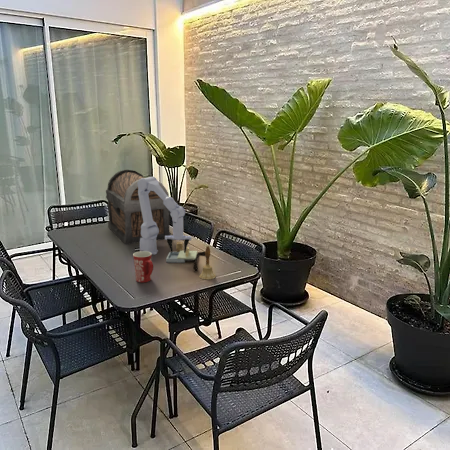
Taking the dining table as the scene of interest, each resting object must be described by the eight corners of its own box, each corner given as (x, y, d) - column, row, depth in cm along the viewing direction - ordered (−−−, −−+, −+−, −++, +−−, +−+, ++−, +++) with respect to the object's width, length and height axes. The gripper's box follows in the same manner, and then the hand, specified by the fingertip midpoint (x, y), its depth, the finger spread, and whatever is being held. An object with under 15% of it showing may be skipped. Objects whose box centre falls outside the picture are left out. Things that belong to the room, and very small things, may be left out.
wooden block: (176, 254, 242) (176, 243, 240) (177, 252, 245) (176, 241, 244) (182, 254, 242) (182, 243, 240) (183, 252, 245) (182, 241, 244)
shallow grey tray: (166, 262, 228) (166, 258, 228) (169, 255, 240) (169, 251, 239) (184, 263, 228) (184, 259, 228) (187, 255, 240) (187, 252, 239)
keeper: (185, 261, 231) (185, 259, 231) (187, 257, 237) (187, 255, 236) (193, 261, 231) (193, 259, 231) (194, 257, 237) (194, 255, 236)
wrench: (206, 257, 243) (202, 273, 214) (197, 258, 243) (192, 273, 214) (206, 249, 242) (202, 263, 213) (197, 249, 242) (192, 264, 213)
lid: (177, 258, 228) (177, 252, 227) (180, 251, 239) (180, 245, 238) (195, 259, 227) (195, 252, 226) (197, 252, 239) (197, 246, 238)
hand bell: (197, 274, 213) (197, 244, 209) (213, 272, 215) (213, 243, 211) (201, 280, 205) (201, 249, 201) (217, 279, 208) (218, 248, 203)
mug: (130, 279, 205) (129, 253, 202) (146, 274, 211) (146, 249, 207) (143, 287, 196) (142, 260, 192) (159, 282, 202) (159, 256, 198)
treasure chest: (107, 226, 295) (104, 170, 284) (150, 222, 310) (148, 168, 299) (125, 244, 257) (122, 180, 247) (173, 238, 272) (172, 177, 262)
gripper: (163, 230, 226) (164, 254, 229) (190, 231, 225) (190, 254, 229) (165, 226, 232) (166, 250, 236) (191, 227, 232) (191, 250, 236)
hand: (178, 252), depth 233 cm, fingers open, 7 cm apart
